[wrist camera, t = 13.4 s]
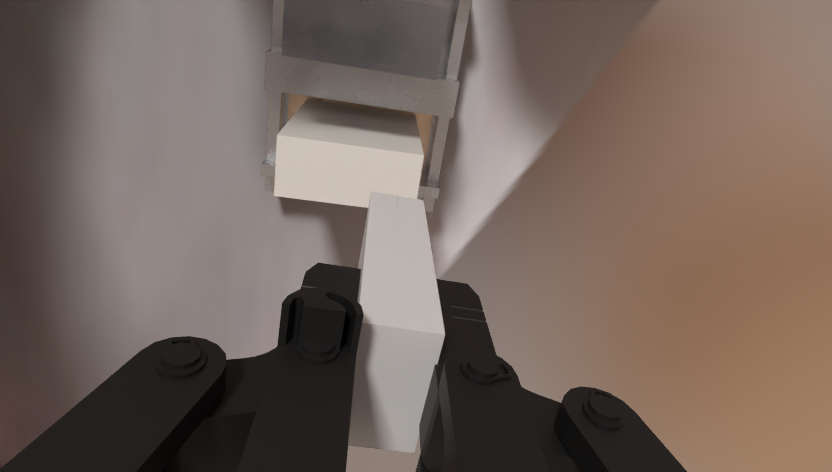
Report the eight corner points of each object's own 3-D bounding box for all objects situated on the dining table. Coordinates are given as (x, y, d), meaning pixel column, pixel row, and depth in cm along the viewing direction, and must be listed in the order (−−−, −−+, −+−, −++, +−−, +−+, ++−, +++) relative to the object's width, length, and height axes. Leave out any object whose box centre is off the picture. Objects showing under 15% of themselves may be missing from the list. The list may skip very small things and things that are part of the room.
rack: (272, 177, 42) (231, 241, 31) (284, -50, 35) (237, -72, 24) (429, 198, 43) (443, 266, 32) (468, -17, 37) (501, -23, 26)
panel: (303, 146, 40) (273, 195, 30) (306, 99, 38) (277, 134, 28) (408, 160, 41) (414, 213, 30) (415, 115, 39) (423, 155, 29)
